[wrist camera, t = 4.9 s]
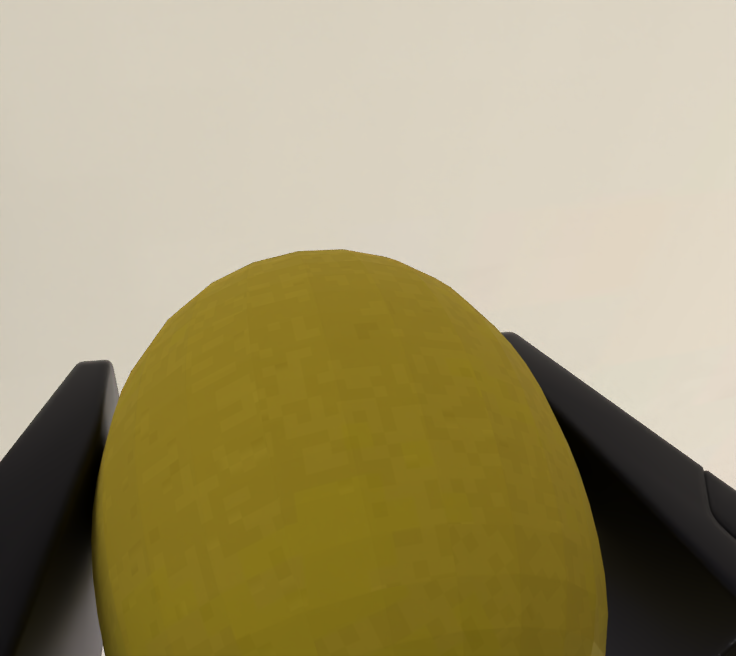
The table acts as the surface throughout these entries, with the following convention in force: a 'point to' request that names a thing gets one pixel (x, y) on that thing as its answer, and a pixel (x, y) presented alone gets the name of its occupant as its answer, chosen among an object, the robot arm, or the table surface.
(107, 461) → the lemon
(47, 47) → the table surface
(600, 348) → the table surface
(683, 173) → the table surface
